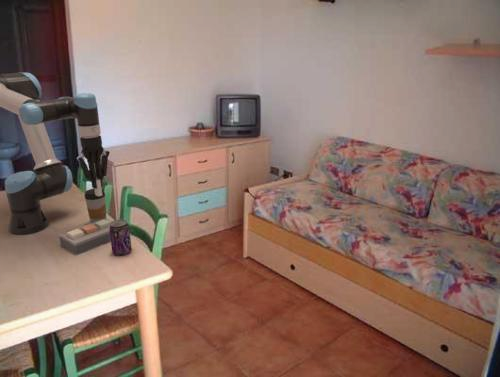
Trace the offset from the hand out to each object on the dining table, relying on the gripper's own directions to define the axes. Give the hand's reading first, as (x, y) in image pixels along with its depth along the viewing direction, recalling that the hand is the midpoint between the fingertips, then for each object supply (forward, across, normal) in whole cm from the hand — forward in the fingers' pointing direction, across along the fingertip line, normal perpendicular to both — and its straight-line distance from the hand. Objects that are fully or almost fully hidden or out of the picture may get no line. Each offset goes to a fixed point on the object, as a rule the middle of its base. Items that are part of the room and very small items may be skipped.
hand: (98, 195), depth 173 cm
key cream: (+15, -12, 0) cm, 19 cm away
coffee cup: (+18, +5, +13) cm, 23 cm away
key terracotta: (+15, -6, 0) cm, 16 cm away
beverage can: (+18, -3, -17) cm, 25 cm away
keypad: (+18, -6, 0) cm, 19 cm away
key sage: (+15, 0, 0) cm, 15 cm away
